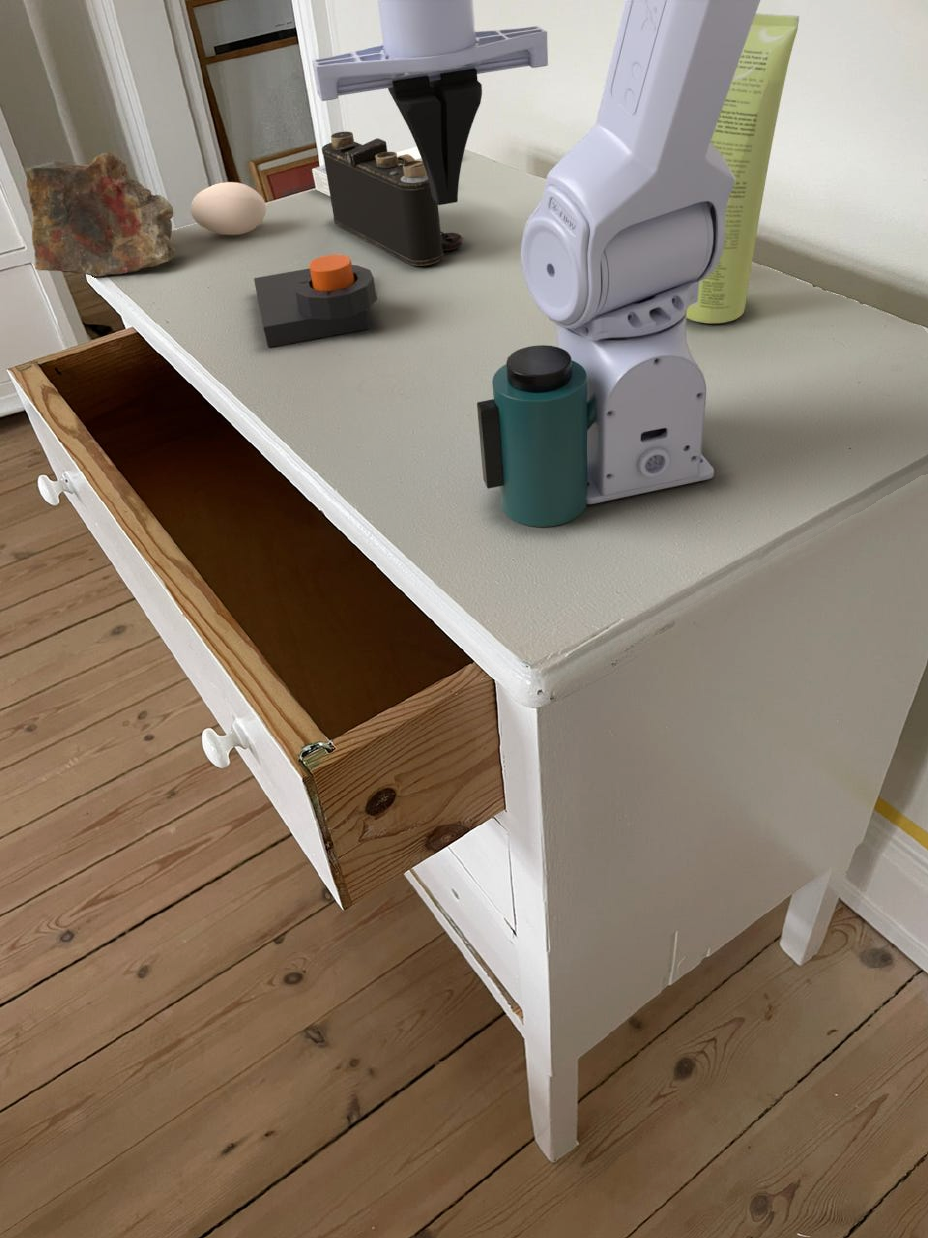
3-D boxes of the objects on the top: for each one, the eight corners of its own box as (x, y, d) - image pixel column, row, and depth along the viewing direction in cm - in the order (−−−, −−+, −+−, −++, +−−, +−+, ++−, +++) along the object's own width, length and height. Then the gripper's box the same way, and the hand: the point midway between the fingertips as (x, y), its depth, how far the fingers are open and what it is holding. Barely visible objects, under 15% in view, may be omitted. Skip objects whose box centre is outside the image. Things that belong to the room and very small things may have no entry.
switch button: (357, 288, 74) (353, 266, 73) (316, 296, 74) (311, 273, 72) (351, 273, 76) (347, 251, 75) (311, 280, 76) (306, 258, 75)
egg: (274, 193, 94) (202, 197, 96) (256, 170, 90) (181, 175, 91) (273, 241, 94) (201, 244, 96) (254, 220, 90) (180, 225, 91)
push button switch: (385, 332, 75) (378, 288, 73) (269, 353, 74) (258, 309, 72) (363, 278, 83) (356, 237, 81) (258, 297, 82) (248, 256, 80)
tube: (744, 293, 75) (777, -3, 62) (761, 322, 71) (800, 13, 58) (670, 300, 75) (687, 6, 62) (683, 329, 71) (705, 23, 58)
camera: (477, 248, 86) (470, 152, 80) (413, 270, 83) (401, 172, 78) (383, 203, 96) (371, 116, 91) (324, 222, 94) (308, 133, 89)
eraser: (396, 151, 105) (413, 159, 103) (434, 140, 107) (452, 148, 104) (397, 163, 106) (414, 172, 103) (435, 152, 108) (453, 160, 105)
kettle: (626, 510, 55) (631, 365, 49) (499, 538, 54) (487, 394, 48) (597, 465, 59) (598, 325, 53) (477, 490, 58) (464, 350, 52)
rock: (109, 179, 96) (38, 117, 86) (215, 193, 92) (153, 131, 82) (73, 298, 95) (-3, 250, 86) (178, 318, 91) (111, 270, 82)
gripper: (522, -65, 61) (530, 164, 70) (292, -33, 59) (331, 198, 68) (555, -51, 55) (560, 195, 65) (305, -15, 54) (346, 232, 63)
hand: (444, 199), depth 66 cm, fingers closed
